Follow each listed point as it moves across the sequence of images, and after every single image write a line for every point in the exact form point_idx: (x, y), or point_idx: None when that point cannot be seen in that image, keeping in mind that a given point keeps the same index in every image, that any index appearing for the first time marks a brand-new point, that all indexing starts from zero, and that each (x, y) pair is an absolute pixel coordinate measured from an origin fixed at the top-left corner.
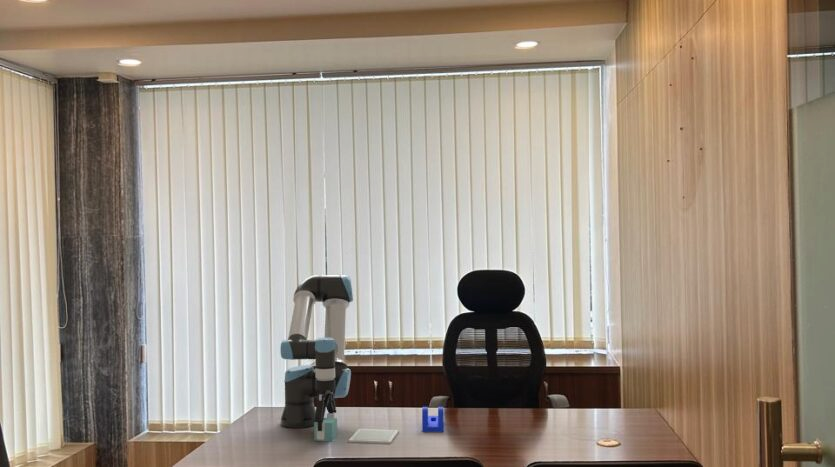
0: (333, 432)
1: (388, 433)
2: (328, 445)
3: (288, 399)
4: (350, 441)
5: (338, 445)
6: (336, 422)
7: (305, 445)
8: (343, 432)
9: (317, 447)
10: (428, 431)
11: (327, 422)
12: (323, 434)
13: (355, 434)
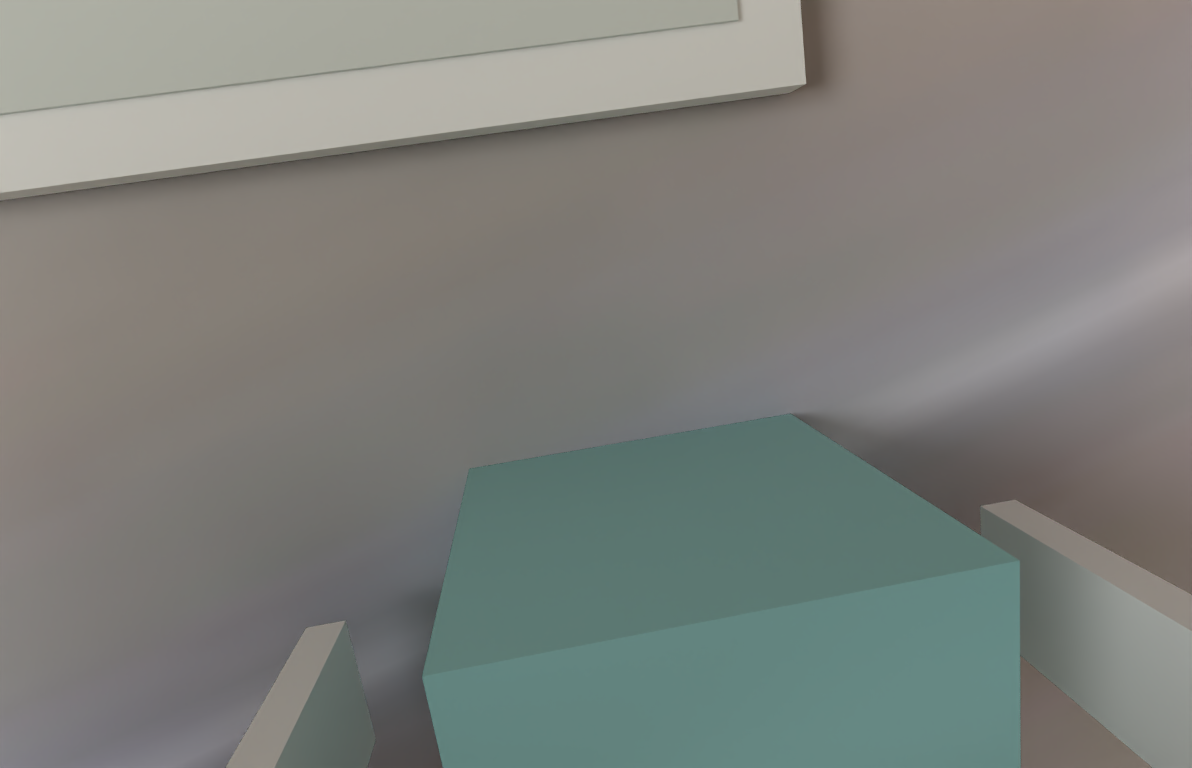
0: (751, 471)
1: None
2: (1031, 365)
3: None
4: (794, 50)
5: (1009, 200)
6: (496, 597)
7: None
8: (180, 470)
9: (1152, 479)
10: None
11: (985, 706)
12: (1088, 546)
13: (368, 102)
